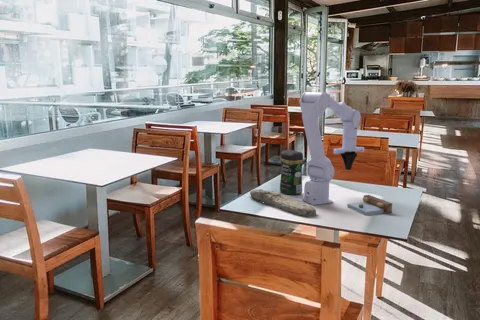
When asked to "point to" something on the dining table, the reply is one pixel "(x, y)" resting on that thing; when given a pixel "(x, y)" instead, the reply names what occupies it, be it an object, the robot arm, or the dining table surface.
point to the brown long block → (378, 203)
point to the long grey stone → (283, 202)
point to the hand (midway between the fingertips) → (348, 169)
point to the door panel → (365, 208)
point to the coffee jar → (291, 172)
